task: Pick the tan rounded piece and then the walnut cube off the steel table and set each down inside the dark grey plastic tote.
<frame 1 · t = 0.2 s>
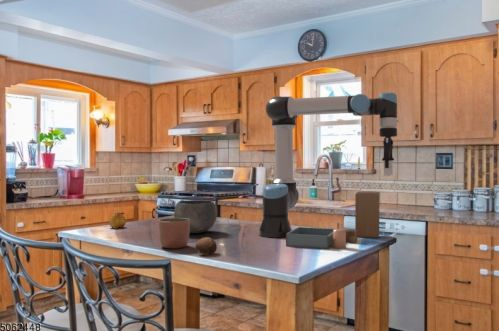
hand: (388, 175, 199), 28 cm above the table, fingers open, 13 cm apart
wooden block: (367, 236, 202), on the table
tote: (312, 243, 185), on the table
fruit: (117, 228, 231), on the table
tan rounded piece: (339, 247, 176), on the table
walnut cube: (350, 242, 188), on the table
planter: (174, 247, 179), on the table
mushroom: (206, 254, 165), on the table
bowl: (195, 233, 214), on the table
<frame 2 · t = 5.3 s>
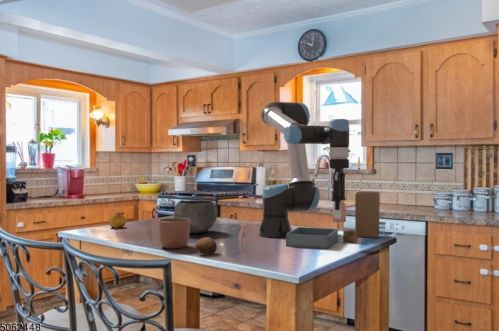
hand: (339, 217, 176), 12 cm above the table, fingers closed on tan rounded piece, 5 cm apart
tan rounded piece: (339, 221, 176), point 10 cm above the table, touching gripper
everything else where it was.
when the fingers open (1 cm above the table, at t = 17.6 s): tan rounded piece stays where it is, resting on tote.
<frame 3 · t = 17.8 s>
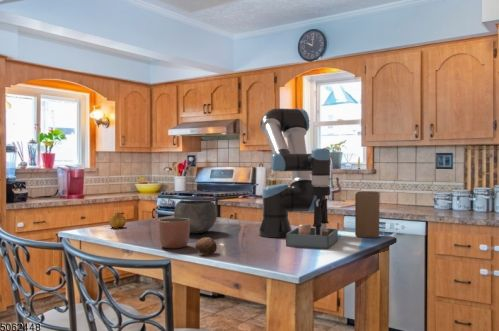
hand: (320, 240, 184), 1 cm above the table, fingers open, 8 cm apart
tan rounded piece: (304, 241, 186), point 1 cm above the table, touching tote
walnut cube: (321, 242, 183), point 1 cm above the table, touching tote
everything else where it was.
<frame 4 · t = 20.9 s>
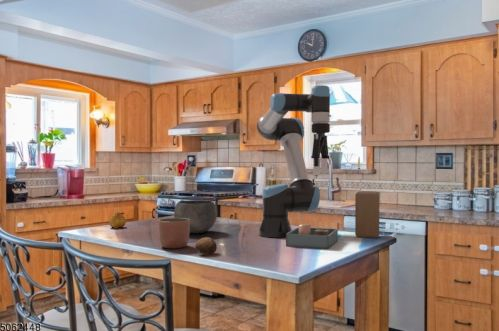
hand: (320, 174, 185), 29 cm above the table, fingers open, 13 cm apart
nothing on the table moved.
at the end: tan rounded piece inside the target area on the tote (3.4 cm from its centre), point 0.6 cm above the tote's base; walnut cube inside the target area on the tote (3.8 cm from its centre), point 0.6 cm above the tote's base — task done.
